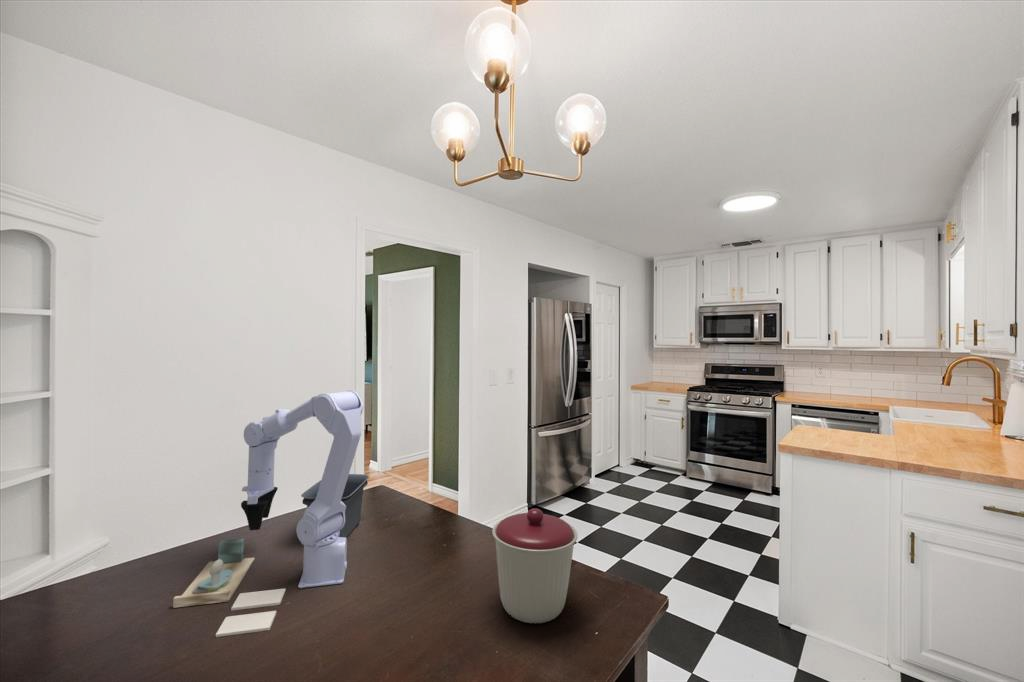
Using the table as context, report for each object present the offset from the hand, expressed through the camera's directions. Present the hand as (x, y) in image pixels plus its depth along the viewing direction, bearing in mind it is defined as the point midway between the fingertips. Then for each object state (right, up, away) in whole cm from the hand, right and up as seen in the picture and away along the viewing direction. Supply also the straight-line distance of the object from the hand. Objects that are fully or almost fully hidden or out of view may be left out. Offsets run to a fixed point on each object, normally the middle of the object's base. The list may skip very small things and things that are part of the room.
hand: (259, 523), depth 111 cm
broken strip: (+11, -9, -21) cm, 25 cm away
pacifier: (-3, -9, -14) cm, 16 cm away
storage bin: (+12, -10, +17) cm, 23 cm away
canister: (+68, -11, -17) cm, 71 cm away
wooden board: (-4, -9, -10) cm, 14 cm away
